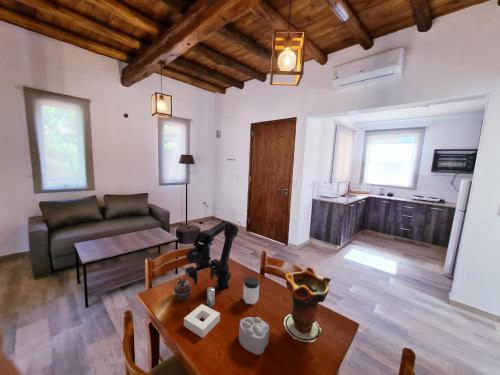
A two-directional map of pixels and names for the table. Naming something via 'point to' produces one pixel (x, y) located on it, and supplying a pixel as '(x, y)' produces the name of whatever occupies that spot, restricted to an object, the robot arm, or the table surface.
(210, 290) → the peg
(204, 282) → the table surface
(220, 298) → the table surface
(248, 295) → the jar
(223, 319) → the table surface
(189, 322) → the socket block
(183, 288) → the cupcake
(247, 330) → the lumpy-topped squat cylinder
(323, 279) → the decorative vase
